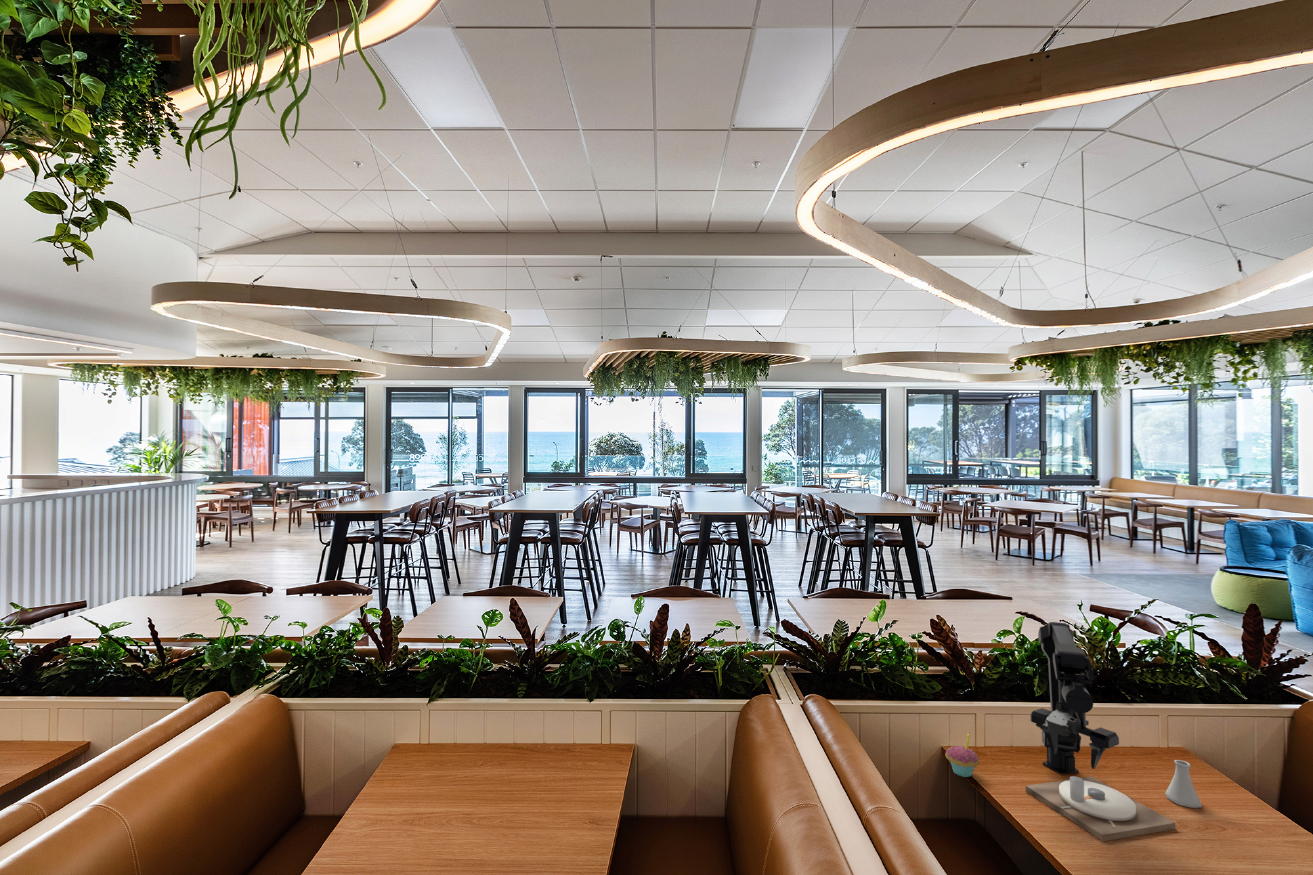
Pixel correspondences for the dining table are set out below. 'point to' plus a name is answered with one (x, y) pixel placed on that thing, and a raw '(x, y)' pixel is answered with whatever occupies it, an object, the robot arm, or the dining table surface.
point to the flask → (1183, 787)
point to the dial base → (1099, 827)
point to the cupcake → (962, 759)
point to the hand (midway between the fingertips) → (1073, 760)
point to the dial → (1097, 800)
